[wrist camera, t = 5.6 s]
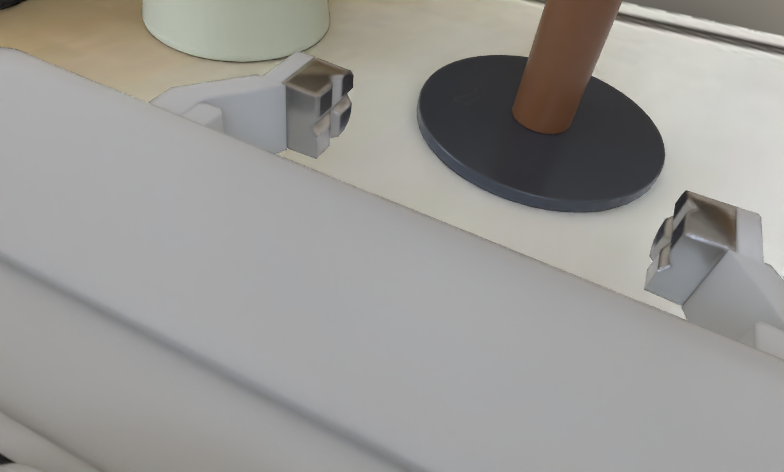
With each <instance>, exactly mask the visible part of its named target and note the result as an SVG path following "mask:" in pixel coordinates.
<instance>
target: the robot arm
mask: <svg viewBox="0 0 784 472" xmlns="http://www.w3.org/2000/svg"><path fill="white" fill-rule="evenodd" d="M352 88H353V74H352V72H351V70H348V69H345V68H343V67H340V66H337V65H335V64H332V63H329V62H327V61H324V60H322V59H319V58H316V57H314V56H311V55H308V54H305V53H302V52H295V53H293V54H292V55H291V56H289V57H288V58H286V59H285V60H284V61H282V62H281V63H280V64H278V65H277V66H276V67H274V68H273V69H272V70H270V71H269V72H267V73H266V74H265V75H263V76H260V75H250V76H244V77H237V78H231V79H224V80H218V81H211V82H205V83H198V84H192V85H185V86H179V87H172V88H170V89H168V90H167V91H165V92H164V93H162V94H161V95H159V96H157V97H156V98H154V99H153V100H151V101H150V102H145V101H143V100H140V99H138V98H135V97H133V96H130V95H128V94H126V93H123V92H121V91H118V90H116V89H113V88H111V87H108V86H106V85H103V84H101V83H98V82H96V81H93V80H91V79H88V78H86V77H83V76H81V75H79V74H76V73H74V72H71V71H69V70H66V69H64V68H61V67H59V66H56V65H54V64H51V63H49V62H47V61H44V60H42V59H40V58H37V57H35V56H33V55H30V54H28V53H26V52H23V51H20V50H17V49H13V48H7V47H0V472H784V280H783V279H782V278H781V277H780V276H779V274H778V273H777V272H776V271H775V270H774V268H773V267H772V266H771V265H769V264H766V263H764V259H763V241H762V223H761V216H760V215H759V214H758V213H755V212H751V211H748V210H745V209H742V208H739V207H736V206H732V205H729V204H726V203H723V202H720V201H717V200H714V199H711V198H708V197H705V196H702V195H699V194H696V193H693V192H690V191H685V192H684V193H683V194H682V195H681V196H680V198H679V199H678V201H677V202H676V204H675V209H674V216H671V217H669V218H666V219H665V220H664V222H663V224H662V225H661V227H660V229H659V230H658V232H657V234H656V236H655V238H654V241H653V244H652V247H651V251H650V258H651V260H652V261H653V262H652V263H651V265H650V266H649V268H648V269H647V274H646V281H645V287H644V290H646V291H648V292H650V293H653V294H655V295H657V296H660V297H662V298H664V299H667V300H669V301H671V302H674V303H676V304H679V305H681V306H682V307H681V308H682V310H683V312H684V314H685V316H686V318H687V320H688V321H687V320H685V319H682V318H680V317H677V316H675V315H672V314H670V313H667V312H665V311H662V310H660V309H658V308H655V307H653V306H650V305H648V304H645V303H643V302H640V301H638V300H635V299H633V298H630V297H628V296H625V295H623V294H620V293H618V292H615V291H613V290H611V289H608V288H606V287H603V286H601V285H598V284H596V283H593V282H591V281H588V280H586V279H583V278H581V277H578V276H576V275H573V274H571V273H568V272H566V271H563V270H561V269H559V268H556V267H554V266H551V265H549V264H546V263H544V262H541V261H539V260H536V259H534V258H531V257H529V256H526V255H524V254H521V253H519V252H516V251H514V250H511V249H509V248H507V247H504V246H502V245H499V244H497V243H494V242H492V241H489V240H487V239H484V238H482V237H479V236H477V235H474V234H472V233H469V232H467V231H464V230H462V229H459V228H457V227H455V226H452V225H450V224H447V223H445V222H442V221H440V220H437V219H435V218H432V217H430V216H427V215H425V214H422V213H420V212H417V211H415V210H412V209H410V208H408V207H405V206H403V205H400V204H398V203H395V202H393V201H390V200H388V199H385V198H383V197H380V196H378V195H375V194H373V193H370V192H368V191H365V190H363V189H360V188H358V187H356V186H353V185H351V184H348V183H346V182H343V181H341V180H338V179H336V178H333V177H331V176H328V175H326V174H323V173H321V172H318V171H316V170H313V169H311V168H309V167H306V166H304V165H301V164H299V163H296V162H294V161H291V160H289V159H286V158H284V157H281V156H279V155H276V153H279V152H282V151H285V150H287V148H288V149H291V150H293V151H296V152H299V153H301V154H304V155H307V156H310V157H312V158H315V159H317V158H318V157H319V156H320V155H321V154H322V153H323V152H324V151H325V150H326V149H327V148H328V147H329V146H330V138H334V137H338V136H339V135H340V134H341V133H342V132H343V131H344V129H345V127H346V125H347V123H348V121H349V117H350V113H351V105H352V103H351V101H350V99H349V97H348V95H347V93H348V92H349V91H350V90H351V89H352Z"/></svg>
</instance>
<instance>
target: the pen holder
mask: <svg viewBox="0 0 784 472" xmlns="http://www.w3.org/2000/svg"><path fill="white" fill-rule="evenodd" d="M21 1H23V0H0V9H1V8H5V7H8V6H10V5H13V4H16V3H18V2H21Z"/></svg>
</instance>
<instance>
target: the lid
mask: <svg viewBox="0 0 784 472" xmlns="http://www.w3.org/2000/svg"><path fill="white" fill-rule="evenodd" d="M622 1H623V0H547V1H546V4H545V7H544V10H543V13H542V16H541V20H540V23H539V26H538V29H537V32H536V35H535V38H534V41H533V45H532V48H531V51H530V54H529V57H522V56H511V55H487V56H477V57H471V58H466V59H462V60H459V61H455V62H453V63H451V64H448V65H446V66H444V67H442V68H441V69H439V70H437V71H436V72H435V73H434V74H432V75H431V76H430V77H429V79H428V80H427V81H426V82H425V83H424V85H423V87H422V89H421V91H420V96H419V100H418V106H417V119H418V124H419V128H420V130H421V133H422V135H423V137H424V139H425V140H426V142H427V144H428V145H429V147H430V148H431V149H432V150H433V152H434V153H435V154H436V155H437V156H438V157H439V158H440V159H441V160H442V161H443V162H444V163H445V164H446V165H447V166H448V167H450V168H451V169H452V170H453V171H455V172H456V173H458V174H459V175H460V176H462V177H463V178H465V179H466V180H468V181H470V182H471V183H473V184H475V185H477V186H478V187H480V188H482V189H485V190H487V191H489V192H491V193H493V194H495V195H498V196H500V197H503V198H506V199H508V200H511V201H514V202H518V203H521V204H525V205H528V206H532V207H537V208H542V209H547V210H555V211H564V212H593V211H602V210H607V209H612V208H617V207H619V206H622V205H625V204H628V203H630V202H632V201H634V200H636V199H637V198H639V197H641V196H642V195H643V194H644V193H646V192H647V191H648V190H649V189H650V188H651V186H652V185H653V184H654V182H655V181H656V179H657V178H658V176H659V174H660V172H661V170H662V168H663V165H664V159H665V149H664V143H663V140H662V137H661V135H660V133H659V131H658V129H657V127H656V126H655V124H654V123H653V121H652V120H651V119H650V117H649V116H648V115H647V114H646V113H645V112H644V111H643V110H642V109H641V108H640V107H639V106H638V105H637V104H636V103H635V102H633V101H632V100H631V99H630V98H628V97H627V96H626V95H624V94H623V93H622V92H620V91H618V90H617V89H615V88H614V87H612V86H610V85H609V84H607V83H605V82H603V81H601V80H599V79H597V78H595V77H593V76H591V75H592V72H593V70H594V68H595V65H596V63H597V60H598V58H599V56H600V53H601V51H602V48H603V46H604V44H605V41H606V39H607V37H608V34H609V32H610V29H611V27H612V25H613V22H614V20H615V17H616V15H617V13H618V10H619V8H620V5H621V3H622Z"/></svg>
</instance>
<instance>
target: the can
mask: <svg viewBox="0 0 784 472" xmlns="http://www.w3.org/2000/svg"><path fill="white" fill-rule="evenodd" d="M142 3H143V9H142V16H143V20H144V23H145V25H146V27H147V28H148V30H149V32H150V33H151V34H152V35H153V36H154V37H156V38H157V39H158V40H159V41H161V42H162V43H164V44H166V45H167V46H169V47H172V48H174V49H176V50H178V51H181V52H184V53H187V54H190V55H193V56H198V57H202V58H207V59H213V60H222V61H237V62H247V61H261V60H271V59H276V58H282V57H286V56H289V55H292V54H293V53H295V52H301V51H303V50H305V49H307V48H309V47H311V46H313V45H314V44H316V43H317V42H318V41H319V40H320V39H322V38H323V36H324V35H325V34H326V32H327V30H328V28H329V24H330V14H329V10H328V0H142Z"/></svg>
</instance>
